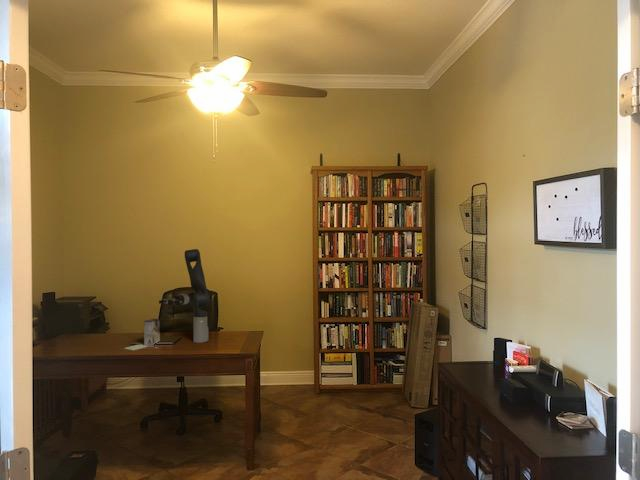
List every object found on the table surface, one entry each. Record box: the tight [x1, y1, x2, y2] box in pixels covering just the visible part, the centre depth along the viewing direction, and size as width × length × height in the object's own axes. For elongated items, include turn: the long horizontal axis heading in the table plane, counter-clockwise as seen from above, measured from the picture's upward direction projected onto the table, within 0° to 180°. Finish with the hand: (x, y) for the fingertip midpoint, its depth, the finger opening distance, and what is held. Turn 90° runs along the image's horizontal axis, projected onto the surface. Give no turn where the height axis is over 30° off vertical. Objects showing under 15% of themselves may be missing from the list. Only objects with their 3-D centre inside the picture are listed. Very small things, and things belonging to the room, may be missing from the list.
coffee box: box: [143, 318, 161, 346], centre depth 309 cm, size 9×6×16 cm
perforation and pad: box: [124, 344, 158, 351], centre depth 297 cm, size 13×16×1 cm
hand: (163, 302), depth 318 cm, fingers open, 8 cm apart
